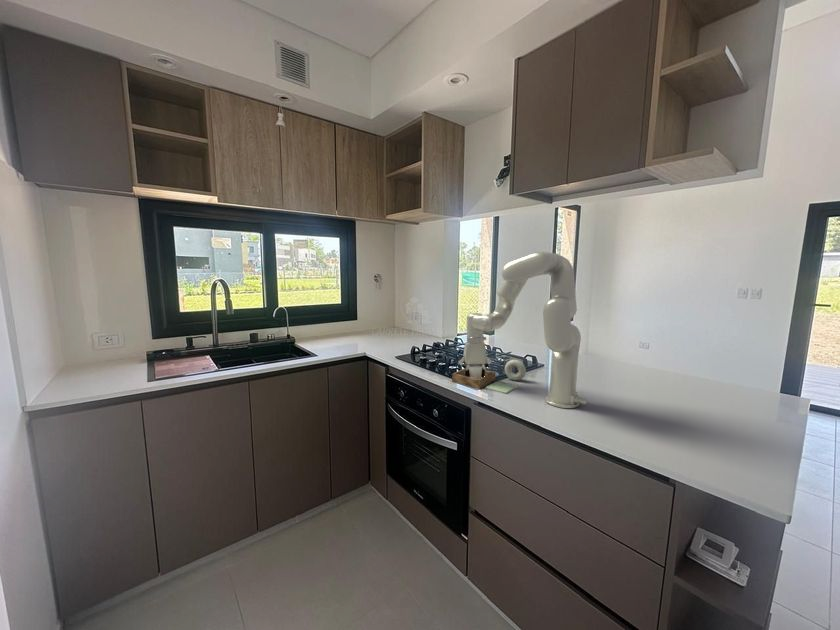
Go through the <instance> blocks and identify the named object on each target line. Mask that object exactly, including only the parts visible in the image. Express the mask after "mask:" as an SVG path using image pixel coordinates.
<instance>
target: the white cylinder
mask: <svg viewBox="0 0 840 630" xmlns="http://www.w3.org/2000/svg"><path fill="white" fill-rule="evenodd" d="M468 370H469V377H471V378H475V379H481V375H482V365H481V364H475V365H470V366H469V369H468Z"/></svg>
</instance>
